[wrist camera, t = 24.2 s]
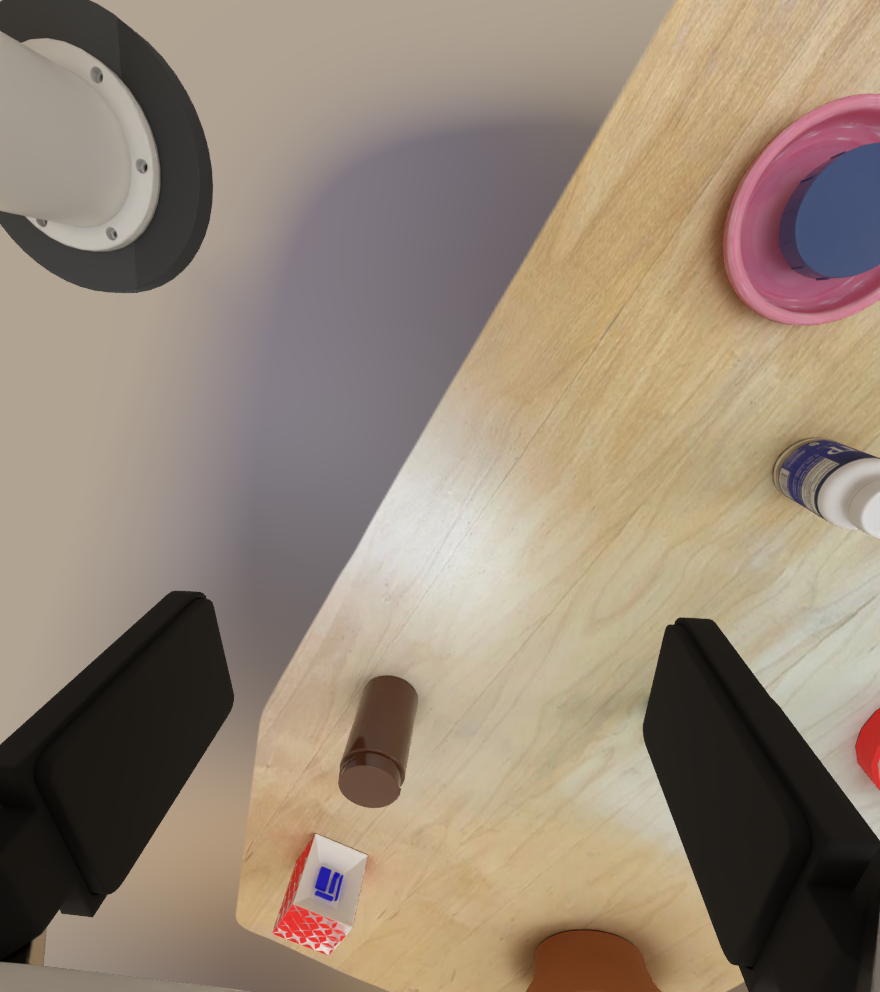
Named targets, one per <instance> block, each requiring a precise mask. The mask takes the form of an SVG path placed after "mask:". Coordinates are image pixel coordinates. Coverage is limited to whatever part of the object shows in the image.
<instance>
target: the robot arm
mask: <svg viewBox="0 0 880 992" xmlns="http://www.w3.org/2000/svg"><path fill="white" fill-rule="evenodd" d="M160 186H161V184H160V162H159V156H158V150H157V146H156V143H155V139H154V136H153V133H152V130H151V127H150V125H149V123H148V121H147V118H146V116H145V114H144V112H143V110H142V108H141V106H140V105H139V103H138V102H137V100H136V99H135V97H134V96H133V94H132V93H131V91H130V89H129V88H128V87H127V86H126V85H125V84H124V83H123V82H122V80H121V79H120V78H119V77H118V76H117V75H116V74H115V73H114V72H113V71H112V70H111V69H109V68H108V67H107V66H106V65H104V64H103V63H102V62H101V61H100V60H98V59H96V58H95V57H93V56H92V55H90V54H88V53H87V52H85V51H84V50H82V49H80V48H78V47H76V46H73V45H71V44H69V43H67V42H64V41H59V40H54V39H49V38H42V39H30V40H27V41H25V42H22V43H20V42H18V41H17V40H15V39H13V38H11V37H10V36H8V35H6V34H4V33H3V32H1V31H0V211H3V212H8V213H13V214H18V215H23V216H25V217H26V218H27V219H28V220H29V221H30V222H31V223H32V224H34V225H35V226H36V227H37V228H38V229H40V230H41V231H42V232H44V233H45V234H46V235H48V236H49V237H51V238H52V239H54V240H56V241H58V242H60V243H62V244H64V245H67V246H70V247H73V248H77V249H80V250H86V251H93V252H110V251H114V250H117V249H121V248H124V247H125V246H127V245H129V244H131V243H132V242H134V241H135V240H136V239H137V238H138V237H139V236H140V235H141V234H142V233H143V232H144V231H145V230H146V228H147V227H148V225H149V223H150V222H151V220H152V218H153V216H154V213H155V210H156V207H157V204H158V199H159V193H160ZM233 702H234V693H233V689H232V684H231V680H230V675H229V671H228V667H227V662H226V658H225V654H224V649H223V645H222V641H221V636H220V632H219V628H218V624H217V619H216V615H215V610H214V606H213V603H212V602H211V601H210V600H208V599H206V596H205V595H204V594H203V593H201V592H191V591H172V592H170V593H169V594H168V595H166V596H165V597H164V598H163V599H162V600H161V601H160V602H158V603H157V604H156V605H155V606H154V607H153V608H152V609H151V610H150V611H148V612H147V613H146V614H145V615H144V616H143V617H142V618H141V619H140V620H138V621H137V622H136V623H135V624H134V625H133V626H132V627H131V628H130V629H128V630H127V631H126V632H125V633H124V634H123V635H122V636H121V637H120V638H118V639H117V640H116V641H115V642H114V643H113V644H112V645H111V646H109V647H108V648H107V649H106V650H105V651H104V652H103V653H102V654H101V655H99V656H98V657H97V658H96V659H95V660H94V661H93V662H92V663H91V664H90V665H88V666H87V667H86V668H85V669H84V670H83V671H82V672H81V673H79V674H78V675H77V676H76V677H75V678H74V679H73V680H72V681H71V682H69V683H68V684H67V685H66V686H65V687H64V688H63V689H62V690H61V691H59V693H57V694H56V695H55V696H54V697H53V698H52V699H51V700H50V701H48V702H47V703H46V704H45V705H44V706H43V707H42V708H41V709H39V710H38V711H37V712H36V713H35V714H34V715H33V716H32V717H31V718H29V719H28V720H27V721H26V722H25V723H24V724H23V725H22V726H21V727H20V728H18V729H17V730H16V731H15V732H14V733H13V734H12V735H11V736H10V737H8V738H7V739H6V740H5V741H4V742H3V743H2V744H1V745H0V992H253V991H245V990H237V989H229V988H221V987H213V986H205V985H195V984H188V983H180V982H171V981H164V980H155V979H147V978H139V977H131V976H122V975H114V974H106V973H98V972H89V971H81V970H73V969H64V968H57V967H49V966H44V954H45V942H46V930H47V926H48V925H49V923H50V922H51V920H52V919H53V918H54V916H55V915H56V913H57V912H58V910H59V909H60V911H61V913H62V914H70V915H79V916H88V917H93V916H94V915H95V913H96V911H97V910H98V908H99V907H100V905H101V904H102V902H103V901H104V899H105V898H106V895H108V894H111V893H113V892H115V891H116V890H117V889H118V888H119V887H120V885H121V884H122V882H123V881H124V880H125V878H126V877H127V875H128V874H129V872H130V870H131V869H132V867H133V866H134V864H135V862H136V861H137V859H138V858H139V856H140V854H141V853H142V851H143V850H144V848H145V846H146V845H147V843H148V842H149V840H150V838H151V837H152V835H153V834H154V832H155V831H156V829H157V827H158V826H159V824H160V823H161V821H162V820H163V818H164V816H165V814H166V813H167V812H168V810H169V808H170V807H171V805H172V804H173V802H174V800H175V799H176V797H177V796H178V794H179V793H180V791H181V789H182V788H183V786H184V785H185V783H186V781H187V780H188V778H189V777H190V775H191V774H192V772H193V770H194V769H195V767H196V766H197V764H198V762H199V761H200V759H201V758H202V756H203V754H204V753H205V751H206V750H207V748H208V746H209V745H210V743H211V742H212V740H213V739H214V737H215V735H216V734H217V732H218V731H219V729H220V727H221V726H222V724H223V723H224V721H225V719H226V718H227V716H228V715H229V713H230V711H231V709H232V706H233ZM643 736H644V741H645V745H646V747H647V750H648V753H649V755H650V758H651V761H652V764H653V766H654V769H655V772H656V774H657V777H658V780H659V782H660V785H661V788H662V790H663V793H664V796H665V798H666V801H667V804H668V806H669V809H670V812H671V814H672V817H673V820H674V822H675V825H676V828H677V830H678V833H679V836H680V838H681V841H682V844H683V846H684V849H685V852H686V854H687V857H688V860H689V863H690V865H691V868H692V871H693V873H694V876H695V879H696V881H697V884H698V887H699V889H700V892H701V895H702V897H703V900H704V903H705V905H706V908H707V911H708V913H709V916H710V919H711V921H712V924H713V927H714V929H715V932H716V935H717V937H718V940H719V943H720V945H721V948H722V950H723V952H724V954H725V956H726V958H727V960H728V961H729V962H730V963H731V964H733V965H739V968H740V970H741V973H742V976H743V978H744V981H745V983H746V986H747V988H748V991H749V992H880V840H879V839H878V838H877V836H876V835H875V834H874V832H873V831H872V830H871V828H870V827H869V826H868V824H867V823H866V822H865V820H864V819H863V818H862V816H861V815H860V814H859V812H858V811H857V810H856V808H855V807H854V806H853V804H852V803H851V802H850V800H849V799H848V798H847V796H846V795H845V794H844V792H843V791H842V790H841V788H840V787H839V786H838V784H837V783H836V782H835V780H834V779H833V777H832V776H831V775H830V773H829V772H828V771H827V769H826V768H825V767H824V765H823V764H822V763H821V761H820V760H819V759H818V757H817V756H816V755H815V753H814V752H813V751H812V749H811V748H810V747H809V745H808V744H807V743H806V741H805V740H804V739H803V737H802V736H801V735H800V733H799V732H798V731H797V729H796V728H795V727H794V725H793V724H792V723H791V721H790V720H789V719H788V717H787V716H786V715H785V713H784V712H783V711H782V709H781V708H780V707H779V705H778V704H777V703H776V702H775V701H774V700H773V699H772V698H771V697H770V696H769V694H768V693H767V692H766V690H765V689H764V688H763V686H762V685H761V684H760V682H759V681H758V680H757V678H756V677H755V676H754V674H753V673H752V672H751V670H750V669H749V668H748V666H747V665H746V663H745V662H744V661H743V659H742V658H741V657H740V655H739V654H738V653H737V651H736V650H735V649H734V647H733V646H732V645H731V643H730V642H729V641H728V639H727V638H726V637H725V635H724V634H723V633H722V631H721V630H720V628H719V627H718V626H717V624H716V623H715V622H714V621H713V620H710V619H699V618H678V619H677V620H676V621H675V624H674V625H668V626H667V627H666V629H665V633H664V637H663V641H662V646H661V650H660V654H659V658H658V663H657V667H656V671H655V676H654V680H653V684H652V688H651V693H650V697H649V701H648V706H647V710H646V714H645V718H644V723H643Z"/></svg>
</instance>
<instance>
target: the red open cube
mask: <svg viewBox="0 0 880 992" xmlns="http://www.w3.org/2000/svg"><path fill="white" fill-rule="evenodd" d="M367 858H368V855H366V854H364V853H361V852H359V851H356V850H354V849H352V848H349V847H347V846H344V845H342V844H340V843H337V842H335V841H332V840H330V839H327V838H325V837H323V836H320V835H318V834H315V835H314V837H313V838H312V840H311V841H310V843H309V844H308V846H307V847H306V849H305V850H304V852H303V853H302V855H301V856H300V857H299V859H298V860H297V862H296V864H295V867H294V870H293V873H292V876H291V879H290V882H289V885H288V888H287V891H286V893H285V896H284V899H283V902H282V905H281V908H280V911H279V914H278V917H277V920H276V923H275V926H274V929H273V932H272V934H275V935H277V936H280V937H282V938H285V939H287V940H290V941H293V942H295V943H298V944H301V945H303V946H306V947H308V948H311V949H313V950H316V951H318V952H321V953H324V954H326V955H330V954H331V952H332V951H333V950H334V949H335V948H336V947H337V945H338V944H339V943H340V942H341V941H342V940H343V938H344V937H345V936H346V935H347V934H348V933H349V931H350V930H351V929H352V928H353V924H354V920H355V915H356V909H357V905H358V901H359V896H360V891H361V887H362V882H363V877H364V872H365V868H366V863H367Z"/></svg>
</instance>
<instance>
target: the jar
mask: <svg viewBox="0 0 880 992" xmlns="http://www.w3.org/2000/svg"><path fill="white" fill-rule="evenodd" d="M417 704H418V697H417V693H416V691H415V689H414V688H413V687H412V686H411V685H410V684H409V683H408V682H406V681H404V680H402V679H400V678H397V677H393V676H381V677H377V678H375V679H373V680H371V681H370V682H369V683H368V684H367V685H366V686H365V688H364V691H363V694H362V697H361V700H360V703H359V706H358V710H357V713H356V716H355V719H354V722H353V725H352V728H351V732H350V735H349V738H348V741H347V744H346V747H345V750H344V753H343V757H342V760H341V763H340V773H339V782H338V784H339V788H340V790H341V792H342V794H343V795H344V796H345V797H346V798H347V799H349V800H350V801H351V802H353V803H355V804H357V805H360V806H364V807H369V808H380V807H384V806H387V805H390V804H391V803H393V802H394V801H395V800H397V798H398V796H399V795H400V791H401V788H400V787H401V785H402V784H403V782H404V779H405V774H406V768H407V762H408V757H409V751H410V745H411V739H412V733H413V727H414V721H415V716H416V710H417Z"/></svg>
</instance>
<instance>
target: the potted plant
mask: <svg viewBox="0 0 880 992" xmlns="http://www.w3.org/2000/svg"><path fill="white" fill-rule="evenodd" d="M534 960H535V968H534V975H533V980H532V982H531V984H530V986H529V987H528V989H527V991H526V992H661V991H660V990H659V988H658V987H657V986H656V985H655V984H654V983H653V981H652V979H651V977H650V975H649V973H648V971H647V969H646V966H645V962H644V959H643V956H642V954H641V953H640V951H639V950H638V949H637V948H636V947H635V946H634V945H632V944H631V943H629V942H628V941H626V940H624V939H622V938H620V937H618V936H615V935H612V934H609V933H605V932H600V931H592V930H575V931H568V932H563V933H559V934H556V935H554V936H551V937H549V938H548V939H546V940H545V941H543V942H542V943H541V944H540V945H539V946H538V948H537V949H536V951H535V955H534Z"/></svg>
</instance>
